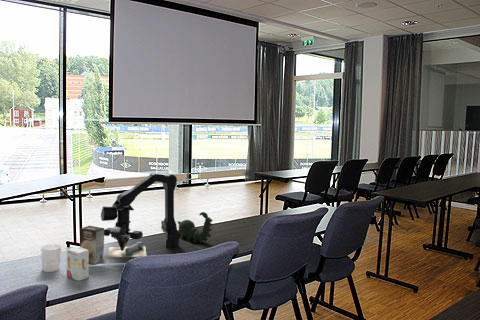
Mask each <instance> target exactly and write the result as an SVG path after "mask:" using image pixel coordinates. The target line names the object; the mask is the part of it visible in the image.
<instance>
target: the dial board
mask: <svg viewBox="0 0 480 320" xmlns="http://www.w3.org/2000/svg"><path fill="white" fill-rule="evenodd" d="M128 247H129V246H125V248H124V250H123V251H121V249H120V246H111V247H108V254H107V258H112V259H113V258H133V257H135V258H136V257H147V250H146V249H147V248H146V245H143V249H139V250H137V251H135V252H133V253H132V254H130V255H125V249H126V248H128Z"/></svg>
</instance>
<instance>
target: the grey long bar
mask: <svg viewBox="0 0 480 320" xmlns="http://www.w3.org/2000/svg"><path fill="white" fill-rule="evenodd" d="M143 246H144V241H136V243H134V244H132V245H130V246H127V247H128V248H126V249H125V255H130V254H132V253H133V252H135V251H137V250H139V249H143Z"/></svg>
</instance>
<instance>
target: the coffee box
mask: <svg viewBox="0 0 480 320" xmlns="http://www.w3.org/2000/svg"><path fill="white" fill-rule="evenodd" d="M79 230H80V231H79V233H80V234H79V235H80V237H79V247H81V248H84V249H87V250H88V251H89V265H91V266H96V265H99V264H100V263H99V262H101V261H104V255H105V254H104V253H105V252H104V250H105V248H104V247H105V236H104V230H105V228H104V227H98V226H95V225H93V226H92V225H87V226H84V227H81V228H80V229H79Z"/></svg>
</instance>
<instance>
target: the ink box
mask: <svg viewBox="0 0 480 320" xmlns="http://www.w3.org/2000/svg"><path fill="white" fill-rule="evenodd" d="M89 263H90V262H89V251H88V250H87V249H84V248H81V247H80V246H75V247H71V248H67V250H66V277H68V278H70V279H72V280H76V281H83V280H85V279H89V268H90V267H89V265H90V264H89Z"/></svg>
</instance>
